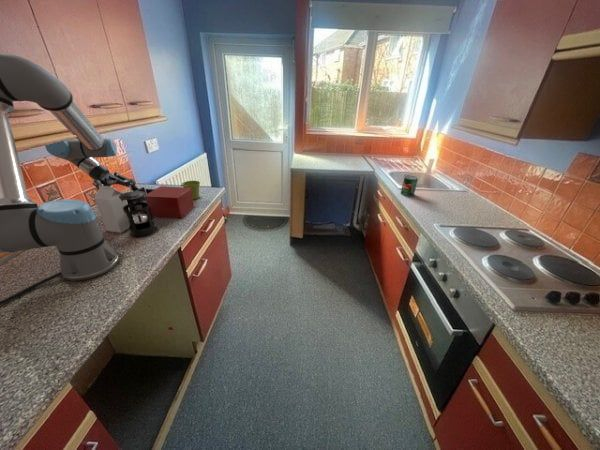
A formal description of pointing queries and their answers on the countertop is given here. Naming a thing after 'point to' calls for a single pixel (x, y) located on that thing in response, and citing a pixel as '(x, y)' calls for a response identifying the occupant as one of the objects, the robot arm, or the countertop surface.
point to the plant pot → (193, 188)
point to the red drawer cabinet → (170, 202)
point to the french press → (138, 220)
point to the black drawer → (142, 201)
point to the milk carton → (112, 209)
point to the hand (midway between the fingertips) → (135, 201)
